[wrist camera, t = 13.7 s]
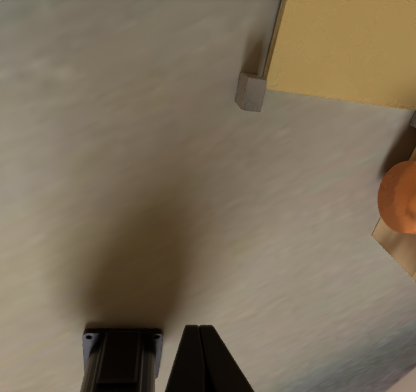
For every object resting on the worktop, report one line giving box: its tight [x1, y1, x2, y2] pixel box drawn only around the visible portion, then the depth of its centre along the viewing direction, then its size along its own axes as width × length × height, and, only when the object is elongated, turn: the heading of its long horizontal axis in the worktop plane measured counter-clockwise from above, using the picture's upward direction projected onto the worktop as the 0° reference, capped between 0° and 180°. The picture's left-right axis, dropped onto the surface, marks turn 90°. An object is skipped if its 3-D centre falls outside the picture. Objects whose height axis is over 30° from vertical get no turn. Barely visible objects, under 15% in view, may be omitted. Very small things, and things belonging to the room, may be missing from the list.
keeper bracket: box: [235, 72, 416, 128], centre depth 18 cm, size 2×13×2 cm, turn 81°
